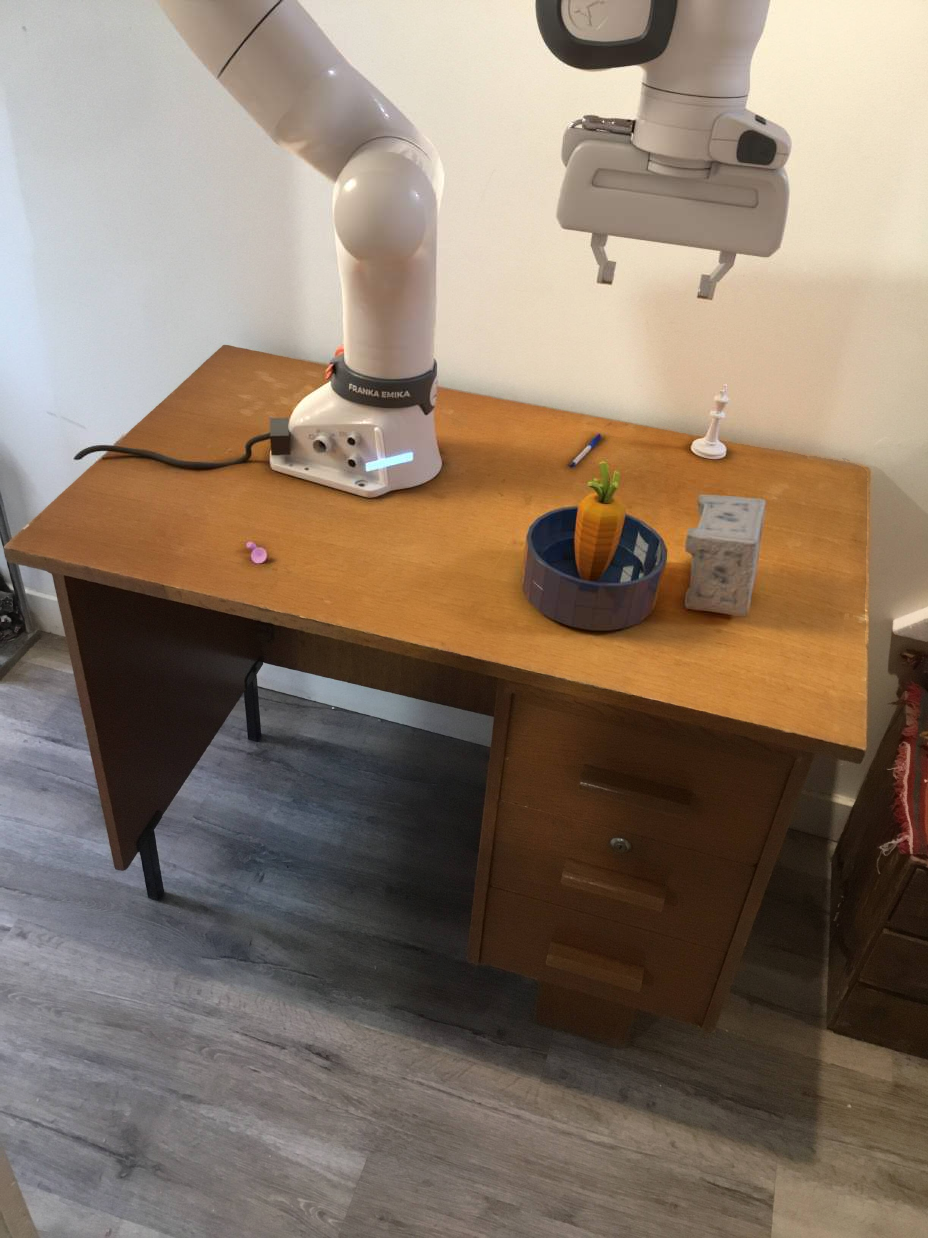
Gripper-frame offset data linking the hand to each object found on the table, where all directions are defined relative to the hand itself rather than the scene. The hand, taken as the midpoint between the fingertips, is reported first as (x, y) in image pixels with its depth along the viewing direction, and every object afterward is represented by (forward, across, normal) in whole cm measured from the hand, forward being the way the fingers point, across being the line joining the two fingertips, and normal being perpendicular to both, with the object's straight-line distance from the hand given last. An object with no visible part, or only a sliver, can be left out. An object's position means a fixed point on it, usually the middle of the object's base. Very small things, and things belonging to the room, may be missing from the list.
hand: (654, 289), depth 86 cm
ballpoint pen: (+32, -5, +26) cm, 42 cm away
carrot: (+31, -1, -6) cm, 32 cm away
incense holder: (+32, +13, -2) cm, 34 cm away
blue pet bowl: (+32, -1, -6) cm, 32 cm away
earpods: (+32, -38, -11) cm, 51 cm away
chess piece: (+32, +12, +32) cm, 47 cm away
